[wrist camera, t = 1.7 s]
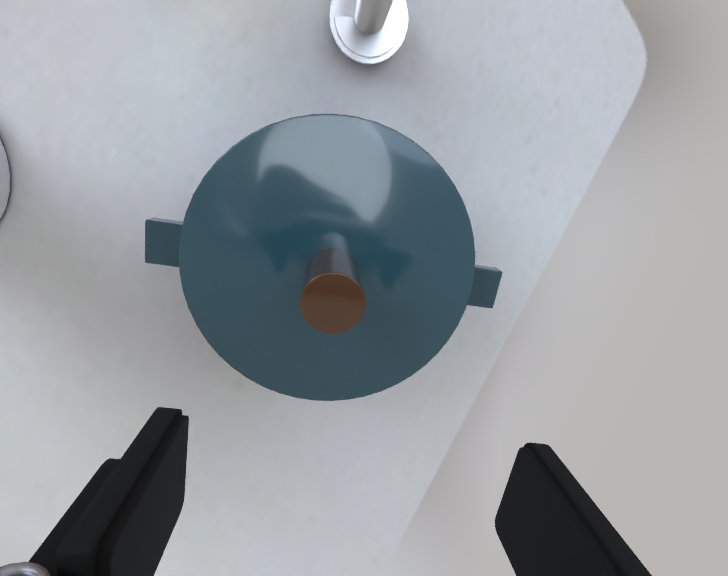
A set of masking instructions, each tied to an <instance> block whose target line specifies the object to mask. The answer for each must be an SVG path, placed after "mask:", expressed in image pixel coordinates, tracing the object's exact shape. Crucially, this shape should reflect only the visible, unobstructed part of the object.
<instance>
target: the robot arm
mask: <svg viewBox="0 0 728 576" xmlns="http://www.w3.org/2000/svg"><path fill="white" fill-rule="evenodd" d="M9 192H10V171H9V166H8V161H7V156H6V152H5V150H4V147H3V145H2V142H1V140H0V218H1V216H2V214H3V212H4V210H5V208H6V206H7V201H8V197H9ZM188 425H189V417H188V416H186V415H182V410H181V409H173V408H163V407H158V408H157V409H156V410H155V411H154V413H153V414H152V415H151V417H150V418H149V420H148V421H147V422H146V424H145V425H144V427H143V428H142V430H141V431H140V432H139V434H138V435H137V437H136V438H135V439H134V441H133V442H132V444H131V445H130V446H129V448H128V449H127V451H126V452H125V454H124V455H123V456H122V458H121V459H108V460H106V461H105V462H104V463H103V464H102V465H101V467H100V468H99V469H98V471H97V472H96V473H95V475H94V476H93V477H92V479H91V480H90V481H89V482H88V484H87V485H86V486H85V488H84V489H83V490H82V492H81V493H80V494H79V496H78V497H77V498H76V500H75V501H74V502H73V504H72V505H71V506H70V508H69V509H68V510H67V512H66V513H65V514H64V516H63V517H62V518H61V519H60V521H59V522H58V523H57V525H56V526H55V527H54V529H53V530H52V531H51V533H50V534H49V535H48V537H47V538H46V539H45V541H44V542H43V543H42V545H41V546H40V547H39V549H38V550H37V551H36V552H35V554H34V555H33V556H32V558H31V559H30V560H29V562H21V563H13V564H8V565H5V566H2V567H0V576H154V573H155V571H156V569H157V566H158V564H159V562H160V559H161V557H162V555H163V552H164V550H165V548H166V545H167V543H168V541H169V538H170V536H171V534H172V531H173V529H174V527H175V524H176V522H177V520H178V517H179V515H180V512H181V510H182V506H183V502H184V494H185V477H186V460H187V442H188ZM495 527H496V532H497V534H498V536H499V539H500V541H501V543H502V545H503V547H504V549H505V552H506V554H507V556H508V558H509V560H510V563H511V565H512V567H513V569H514V571H515V573H516V576H652V575H651V574H650V573H649V572H648V571H647V569H646V568H645V567H644V565H643V564H642V563H641V562H640V560H639V559H638V558H637V556H636V555H635V554H634V553H633V551H632V550H631V549H630V548H629V546H628V545H627V544H626V542H625V541H624V540H623V539H622V537H621V536H620V535H619V534H618V532H617V531H616V530H615V528H614V527H613V526H612V525H611V524H610V522H609V521H608V520H607V518H606V517H605V516H604V514H603V513H602V512H601V511H600V509H599V508H598V507H597V506H596V504H595V503H594V502H593V501H592V499H591V498H590V497H589V495H588V494H587V493H586V492H585V490H584V489H583V488H582V487H581V486H580V484H579V483H578V482H577V480H576V479H575V478H574V477H573V475H572V474H571V473H570V471H569V470H568V469H567V467H566V466H565V465H564V464H563V462H562V461H561V460H560V459H559V457H558V456H557V455H556V454H555V452H554V451H553V450H552V449H551V447H550V446H549V445H546V444H538V443H527V444H525V445H524V447H522V448H520V449H519V451H518V453H517V457H516V459H515V462H514V465H513V468H512V471H511V474H510V477H509V480H508V483H507V485H506V488H505V491H504V494H503V497H502V500H501V503H500V506H499V509H498V512H497V515H496V518H495Z"/></svg>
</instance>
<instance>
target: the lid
mask: <svg viewBox="0 0 728 576" xmlns="http://www.w3.org/2000/svg"><path fill="white" fill-rule="evenodd" d="M474 268H475V248H474V237H473V232H472V228H471V223H470V219H469V216H468V213H467V211H466V208H465V205H464V202H463V200H462V198H461V196H460V194H459V192H458V191H457V189H456V187H455V185H454V183H453V182H452V180H451V179H450V178H449V176H448V175H447V173H446V172H445V171H444V169H443V168H442V167H441V166H440V165H439V164H438V163H437V162H436V161H435V159H434V158H433V157H432V156H431V155H430V154H429V153H428V152H426V151H425V150H424V149H423V148H421V147H420V146H419V145H418V144H416V143H415V142H414V141H413V140H411V139H409V138H407V137H406V136H404V135H402V134H401V133H399V132H397V131H396V130H394V129H391V128H389V127H386V126H384V125H382V124H379V123H377V122H374V121H370V120H366V119H363V118H359V117H355V116H347V115H338V114H311V115H305V116H300V117H294V118H289V119H286V120H283V121H280V122H276V123H273V124H270V125H268V126H266V127H264V128H262V129H260V130H258V131H256V132H254V133H252V134H250V135H248V136H247V137H245V138H244V139H242V140H241V141H239V142H238V143H237V144H235V145H234V146H232V147H231V148H230V149H229V150H228V151H227V152H226V153H225V154H224V155H222V156H221V157H220V158H219V159H218V160H217V161H216V162H215V164H214V165H213V166H212V167H211V169H210V170H209V171H208V172H207V174H206V175H205V176H204V177H203V179H202V181H201V183H200V184H199V186H198V188H197V189H196V191H195V193H194V194H193V197H192V199H191V202H190V204H189V206H188V209H187V211H186V214H185V218H184V222H183V226H182V230H181V236H180V246H179V269H180V277H181V282H182V288H183V292H184V295H185V298H186V301H187V304H188V308H189V310H190V312H191V314H192V316H193V318H194V320H195V323H196V325H197V326H198V328H199V329H200V331H201V333H202V334H203V336H204V337H205V339H206V340H207V342H208V343H209V344H210V345H211V346H212V348H213V349H214V350H215V351H216V352H217V353H218V355H219V356H220V357H222V358H223V359H224V360H225V361H226V362H227V363H228V364H229V365H230V366H231V367H233V368H234V369H235V370H237V371H238V372H240V373H241V374H242V375H244V376H245V377H247V378H248V379H250V380H252V381H254V382H256V383H257V384H259V385H261V386H263V387H266V388H268V389H271V390H273V391H276V392H278V393H281V394H285V395H288V396H292V397H296V398H302V399H309V400H322V401H335V400H348V399H353V398H358V397H364V396H367V395H370V394H374V393H377V392H380V391H383V390H385V389H387V388H389V387H392V386H394V385H396V384H398V383H400V382H401V381H403V380H405V379H407V378H408V377H410V376H412V375H413V374H414V373H416V372H417V371H418V370H420V369H421V368H422V367H423V366H425V365H426V364H427V363H428V362H429V361H430V360H431V359H432V358H433V357H434V356H435V355H436V354H437V353H438V352H439V351H440V350H441V349H442V347H443V346H444V345H445V344H446V342H447V341H448V340H449V338H450V337H451V335H452V334H453V332H454V330H455V329H456V327H457V326H458V324H459V322H460V320H461V317H462V315H463V313H464V311H465V309H466V306H467V303H468V299H469V296H470V293H471V289H472V283H473V278H474Z"/></svg>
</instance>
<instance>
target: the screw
mask: <svg viewBox="0 0 728 576" xmlns="http://www.w3.org/2000/svg"><path fill="white" fill-rule="evenodd" d="M330 28H331V32H332V36H333V38H334V40H335V42H336V44H337V46H338V47H339V48H340V50H341V51H342V52H343V53H344V54H345V55H346V56H347V57H348V58H350V59H352V60H353V61H355V62H358V63H361V64H371V65H372V64H377V63H381V62H383V61H385V60H387V59H389V58H390V57H391V56H392V55H394V54H395V52H396V51H397V50H398V49H399V48H400V46H401V44H402V42H403V40H404V38H405V35H406V32H407V28H408V9H407V5H406V1H405V0H332V3H331V8H330Z"/></svg>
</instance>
